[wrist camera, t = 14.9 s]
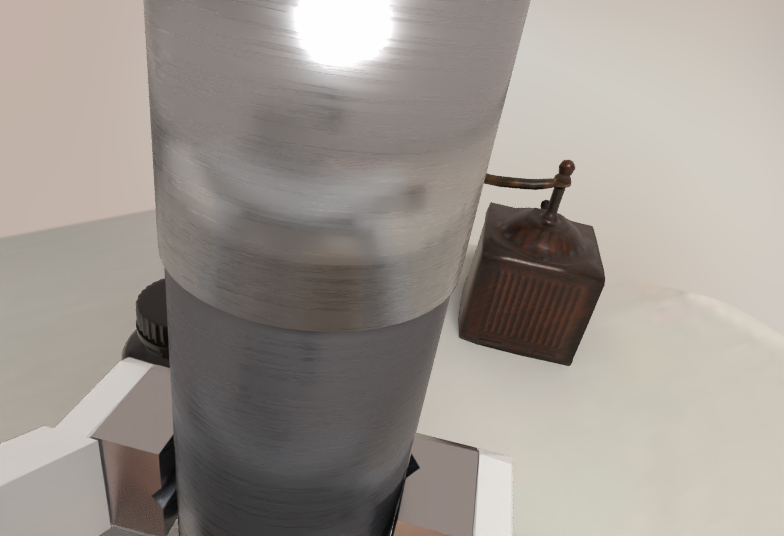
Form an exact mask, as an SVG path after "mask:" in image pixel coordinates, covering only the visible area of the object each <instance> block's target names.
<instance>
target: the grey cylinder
mask: <svg viewBox="0 0 784 536" xmlns="http://www.w3.org/2000/svg"><path fill="white" fill-rule="evenodd" d="M529 4H530V0H144V15H145V16H144V17H145V34H146V50H147V67H148V84H149V101H150V117H151V135H152V151H153V169H154V185H155V201H156V219H157V236H158V248H159V255H160V258H161V260H162V263H163V265H164V267H165V286H166V304H167V323H168V341H169V360H170V378H171V397H172V416H173V434H174V453H175V471H176V490H177V508H178V527H179V536H390V533H391V529H392V525H393V521H394V517H395V513H396V510H397V506H398V502H399V498H400V494H401V490H402V486H403V482H404V478H405V474H406V470H407V466H408V462H409V458H410V454H411V450H412V446H413V442H414V438H415V434H416V430H417V426H418V422H419V418H420V414H421V410H422V406H423V402H424V398H425V394H426V390H427V386H428V382H429V378H430V374H431V370H432V366H433V362H434V358H435V354H436V350H437V346H438V342H439V338H440V334H441V330H442V326H443V322H444V318H445V314H446V310H447V307H448V303H449V299H450V295H451V293H452V292H453V290H454V289H455V287H456V285H457V283H458V280H459V277H460V274H461V270H462V266H463V262H464V258H465V254H466V250H467V246H468V242H469V238H470V235H471V230H472V227H473V223H474V219H475V215H476V211H477V207H478V203H479V199H480V195H481V192H482V188H483V184H484V180H485V176H486V172H487V168H488V164H489V160H490V156H491V153H492V148H493V145H494V141H495V137H496V132H497V129H498V125H499V121H500V117H501V113H502V109H503V106H504V102H505V98H506V94H507V90H508V86H509V82H510V78H511V74H512V71H513V66H514V63H515V58H516V55H517V51H518V47H519V43H520V39H521V35H522V32H523V28H524V23H525V20H526V16H527V12H528V8H529Z"/></svg>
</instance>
